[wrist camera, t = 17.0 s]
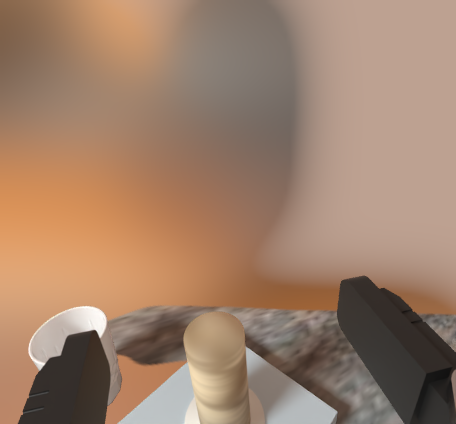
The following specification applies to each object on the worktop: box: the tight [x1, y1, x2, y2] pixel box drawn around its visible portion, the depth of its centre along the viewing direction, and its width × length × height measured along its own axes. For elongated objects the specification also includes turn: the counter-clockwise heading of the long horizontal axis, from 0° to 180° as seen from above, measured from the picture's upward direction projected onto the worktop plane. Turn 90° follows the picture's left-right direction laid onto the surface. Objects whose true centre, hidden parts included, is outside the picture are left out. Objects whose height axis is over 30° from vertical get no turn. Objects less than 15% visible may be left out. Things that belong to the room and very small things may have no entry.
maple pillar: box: [183, 312, 251, 424], centre depth 29 cm, size 5×5×12 cm
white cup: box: [29, 306, 122, 406], centre depth 36 cm, size 8×8×10 cm
